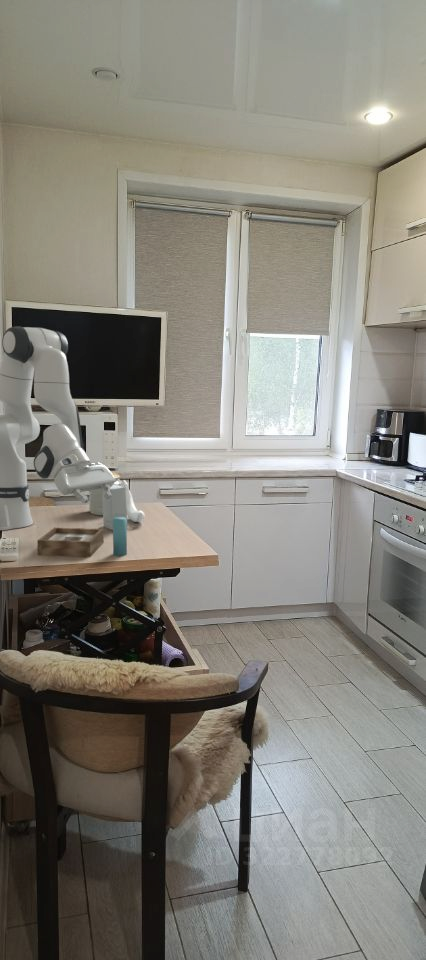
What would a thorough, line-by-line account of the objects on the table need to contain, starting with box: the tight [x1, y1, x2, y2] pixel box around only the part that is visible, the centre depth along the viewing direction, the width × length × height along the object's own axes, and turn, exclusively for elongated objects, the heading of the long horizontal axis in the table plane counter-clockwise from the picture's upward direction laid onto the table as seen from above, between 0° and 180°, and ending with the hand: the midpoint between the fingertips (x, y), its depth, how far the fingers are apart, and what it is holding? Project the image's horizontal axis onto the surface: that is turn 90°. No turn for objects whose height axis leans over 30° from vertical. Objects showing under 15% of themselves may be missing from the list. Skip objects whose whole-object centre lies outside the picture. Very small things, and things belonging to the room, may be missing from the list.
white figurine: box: [122, 479, 146, 523], centre depth 235 cm, size 5×19×15 cm, turn 29°
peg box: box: [37, 527, 105, 558], centre depth 199 cm, size 16×16×4 cm
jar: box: [88, 471, 123, 516], centre depth 250 cm, size 13×13×18 cm
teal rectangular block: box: [112, 517, 128, 557], centre depth 194 cm, size 4×4×11 cm
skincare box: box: [102, 485, 128, 531], centre depth 226 cm, size 8×6×15 cm
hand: (97, 499), depth 198 cm, fingers open, 8 cm apart
